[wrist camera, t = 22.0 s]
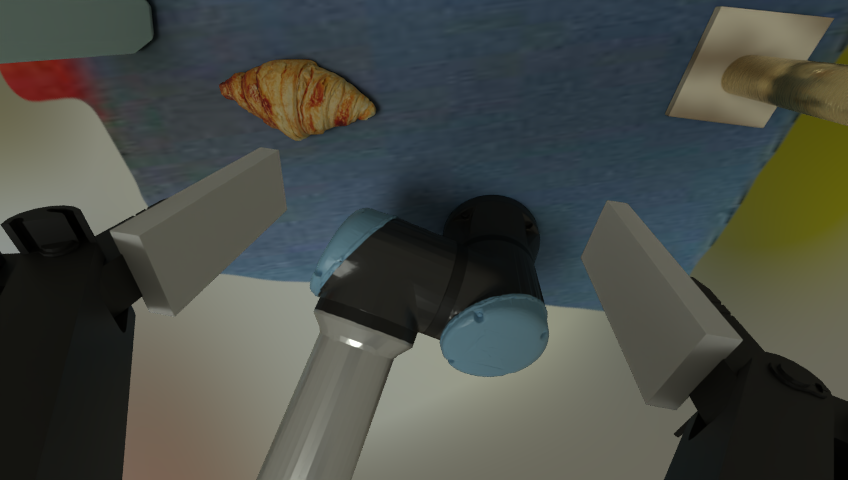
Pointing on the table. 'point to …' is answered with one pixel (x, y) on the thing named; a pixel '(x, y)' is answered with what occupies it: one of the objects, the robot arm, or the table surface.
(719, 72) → the birch pad
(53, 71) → the table surface
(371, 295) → the robot arm
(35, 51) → the water bottle
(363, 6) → the table surface
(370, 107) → the croissant
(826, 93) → the brass capsule
